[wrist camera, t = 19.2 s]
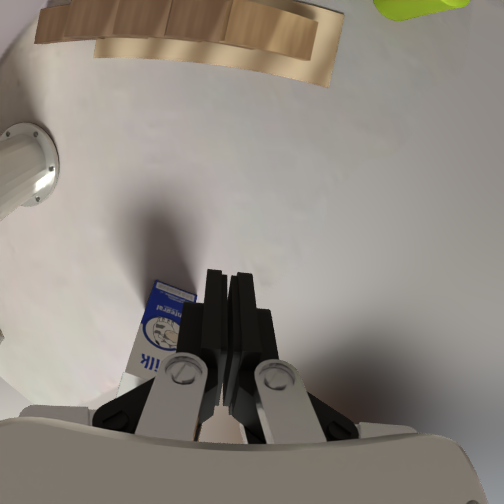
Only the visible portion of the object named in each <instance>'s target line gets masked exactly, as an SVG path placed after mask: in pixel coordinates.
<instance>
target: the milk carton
mask: <svg viewBox="0 0 504 504" xmlns="http://www.w3.org/2000/svg"><path fill="white" fill-rule="evenodd" d="M196 300H197V295H194V294H191V293H189V292H186V291H183V290H181V289H178V288H175V287H173V286H170V285H168V284H165V283H162V282H160V281H157V280H156V281H155V283H154V286H153V289H152V292H151V295H150V297H149V300H148V303H147V306H146V309H145V312H144V315H143V318H142V320H141V323H140V326H139V329H138V332H137V335H136V338H135V342H134V345H133V348H132V351H131V354H130V357H129V360H128V364H127V367H126V370H125V372H123V375H122V378H121V381H120V385H119V388H118V392H117V396H116V398H117V397H119V396H121V395H123V394H125V393H127V392H128V391H130V390H132V389H134V388H136V387H137V386H139V385H141V384H143V383H145V382H146V381H148V380H150V379H152V378H154V377H155V376H156V374H157V372H158V369H159V366H160V364H161V363H162V361H163V359H165V358H166V357H167V356H169V355H171V354H174V353H176V347H177V340H178V333H179V327H180V320H181V314H182V308H183V302H184V301H186V302H195V303H196Z"/></svg>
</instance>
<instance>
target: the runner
mask: <svg viewBox="0 0 504 504" xmlns="http://www.w3.org/2000/svg"><path fill="white" fill-rule="evenodd" d="M225 1H229V0H225ZM246 1H250V2H254V3H258V4H262V5H266V6H270V7H273V8H277V9H280V10H283V11H287V12H290V13H293V14H296V15H299V16H302V17H305V18H308V19H311V20H314V21H317V22H319V23H318V28H317V32H316V37H315V41H314V46H313V51H312V55H311V60H310V61H302V60H298V59H294V58H291V57H287V56H283V55H279V54H275V53H271V52H267V51H263V50H258V49H254V50H249V49H244V48H239V47H234V46H228V45H223V44H217V43H210V42H204V41H202V42H199V43H198V42H190V41H182V40H173V39H162V38H149V37H148V39H137V38H106V37H105V39H96V45H95V50H94V57H93V58H144V59H162V60H176V61H187V62H196V63H205V64H213V65H220V66H227V67H234V68H240V69H246V70H252V71H257V72H263V73H268V74H273V75H277V76H282V77H287V78H291V79H295V80H300V81H304V82H308V83H312V84H316V85H320V86H323V87H327V88H329V83H330V79H331V75H332V70H333V66H334V61H335V57H336V53H337V48H338V43H339V39H340V34H341V30H342V25H343V20H344V15H342V14H339V13H336V12H333V11H330V10H326V9H323V8H319V7H316V6H312V5H308V4H304V3H300V2H296V1H292V0H246Z"/></svg>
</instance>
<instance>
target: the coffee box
mask: <svg viewBox="0 0 504 504" xmlns="http://www.w3.org/2000/svg"><path fill="white" fill-rule="evenodd" d="M3 339H4V336H3V334H2V332H1V330H0V344H1V342H2V341H3Z"/></svg>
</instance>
